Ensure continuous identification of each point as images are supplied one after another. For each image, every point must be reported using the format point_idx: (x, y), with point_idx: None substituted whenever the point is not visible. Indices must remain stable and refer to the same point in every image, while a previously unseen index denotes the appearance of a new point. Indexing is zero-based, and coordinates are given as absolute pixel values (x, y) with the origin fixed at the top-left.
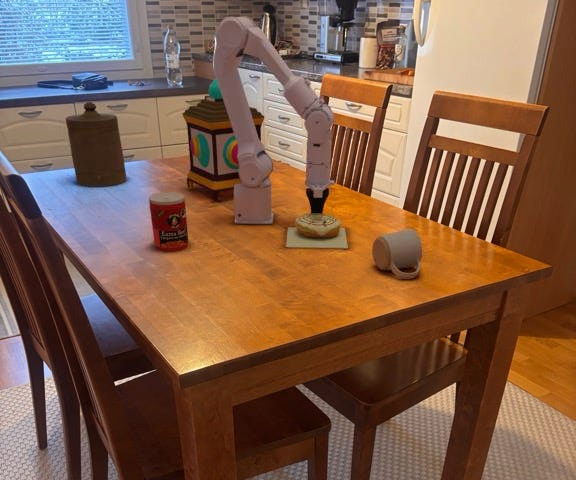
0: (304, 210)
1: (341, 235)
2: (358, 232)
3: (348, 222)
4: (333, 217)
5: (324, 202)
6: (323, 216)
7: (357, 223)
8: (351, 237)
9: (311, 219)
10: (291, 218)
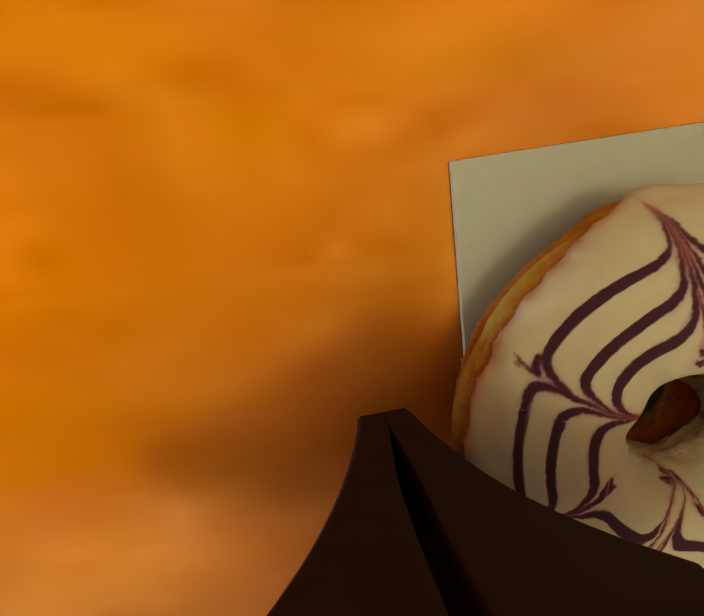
0: (16, 569)
1: (656, 171)
2: (536, 6)
3: (239, 142)
4: (696, 285)
5: (549, 513)
6: (637, 401)
7: (247, 34)
8: (676, 73)
9: (689, 490)
10: (263, 601)
